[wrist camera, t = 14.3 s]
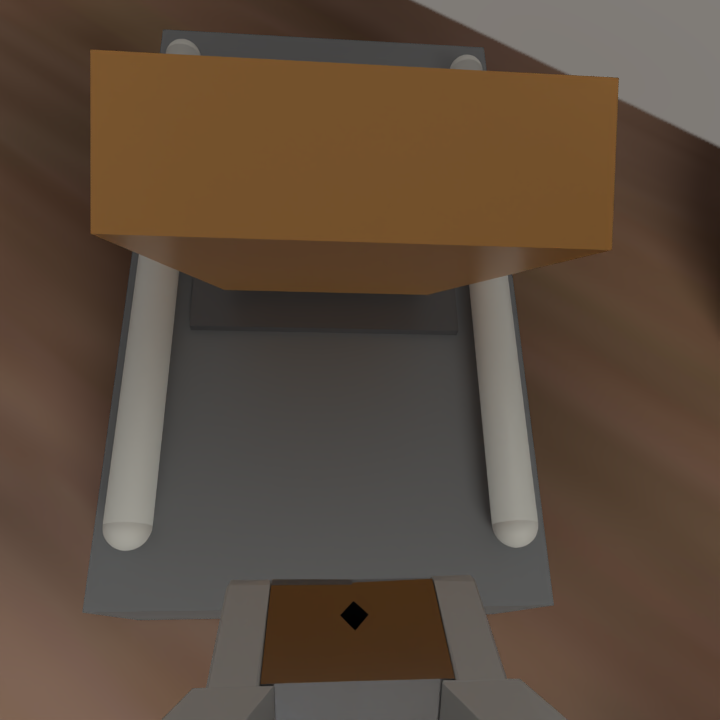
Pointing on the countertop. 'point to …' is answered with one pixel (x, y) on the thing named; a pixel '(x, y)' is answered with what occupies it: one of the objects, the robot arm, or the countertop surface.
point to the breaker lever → (348, 170)
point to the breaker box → (314, 424)
